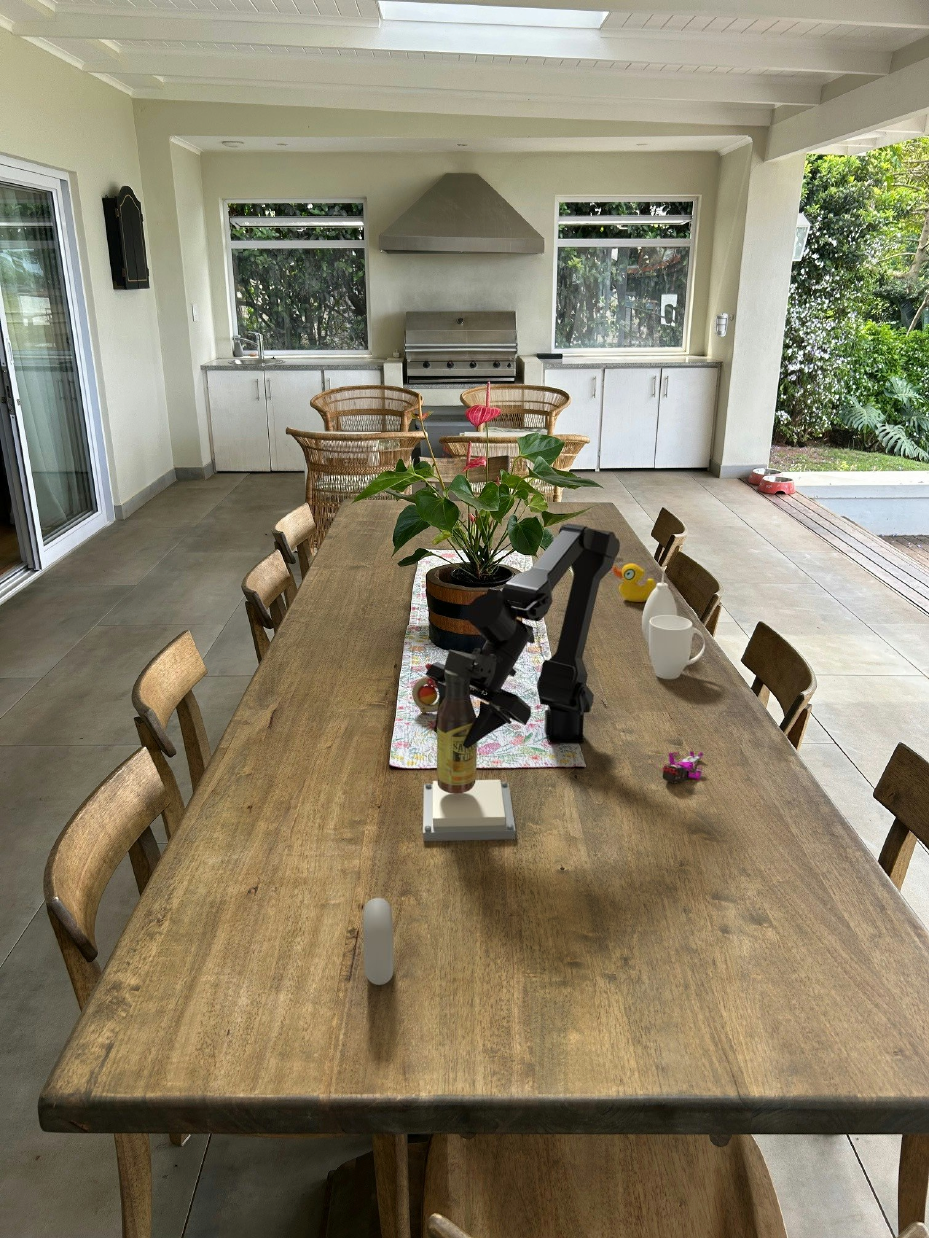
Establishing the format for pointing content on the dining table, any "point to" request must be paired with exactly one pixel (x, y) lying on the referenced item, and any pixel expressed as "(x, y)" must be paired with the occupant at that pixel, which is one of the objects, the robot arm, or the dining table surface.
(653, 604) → the sauce bottle
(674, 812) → the dining table surface
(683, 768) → the character figurine
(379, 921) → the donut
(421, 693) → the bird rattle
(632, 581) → the duckling
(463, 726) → the sauce bottle
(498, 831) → the tower base
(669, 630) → the mug
